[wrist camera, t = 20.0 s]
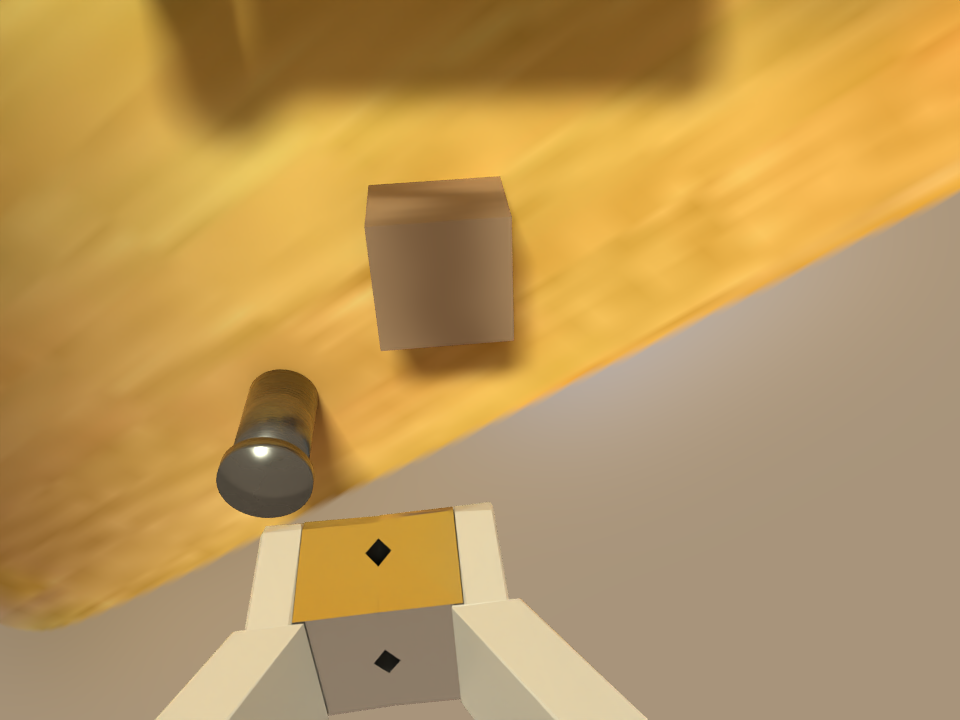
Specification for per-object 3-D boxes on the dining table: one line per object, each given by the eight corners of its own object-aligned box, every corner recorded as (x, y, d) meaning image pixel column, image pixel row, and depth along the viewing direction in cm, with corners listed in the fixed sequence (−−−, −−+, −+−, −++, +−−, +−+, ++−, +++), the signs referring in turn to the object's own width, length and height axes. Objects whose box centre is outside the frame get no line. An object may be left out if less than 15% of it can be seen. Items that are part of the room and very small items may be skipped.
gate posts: (251, 433, 36) (228, 522, 31) (83, -165, 23) (2, -167, 18) (330, 425, 36) (320, 512, 31) (206, -173, 23) (157, -178, 19)
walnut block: (383, 299, 33) (380, 351, 29) (368, 184, 30) (364, 226, 26) (502, 290, 33) (514, 340, 29) (499, 175, 30) (511, 216, 27)
